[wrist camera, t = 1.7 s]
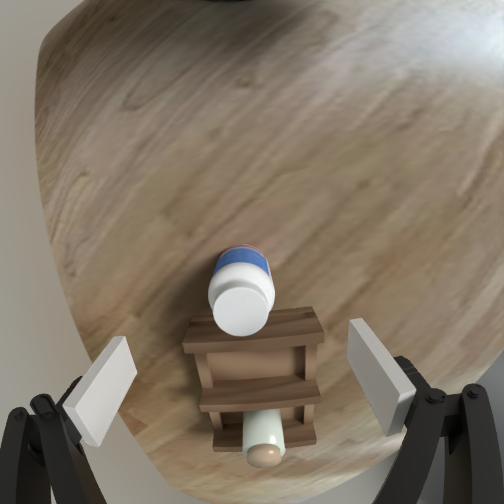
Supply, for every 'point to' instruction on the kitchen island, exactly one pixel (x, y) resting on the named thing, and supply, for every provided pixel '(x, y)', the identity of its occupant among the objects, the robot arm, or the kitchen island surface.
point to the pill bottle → (241, 290)
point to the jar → (263, 437)
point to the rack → (258, 374)
